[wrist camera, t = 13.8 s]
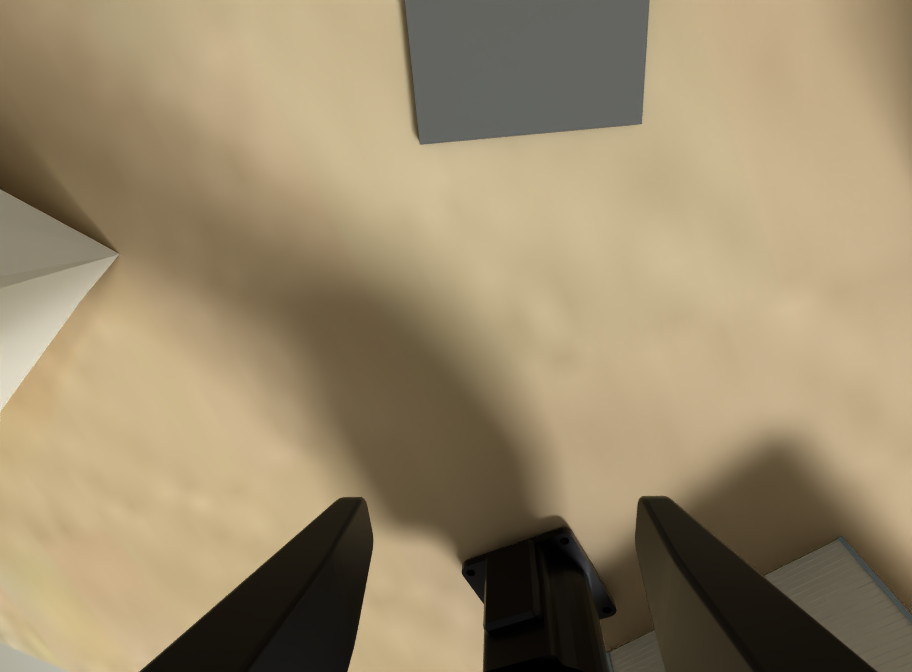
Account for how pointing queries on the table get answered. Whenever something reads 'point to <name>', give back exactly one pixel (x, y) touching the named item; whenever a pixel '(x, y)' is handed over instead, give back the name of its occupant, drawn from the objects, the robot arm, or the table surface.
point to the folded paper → (39, 284)
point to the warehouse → (820, 611)
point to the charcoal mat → (525, 66)
